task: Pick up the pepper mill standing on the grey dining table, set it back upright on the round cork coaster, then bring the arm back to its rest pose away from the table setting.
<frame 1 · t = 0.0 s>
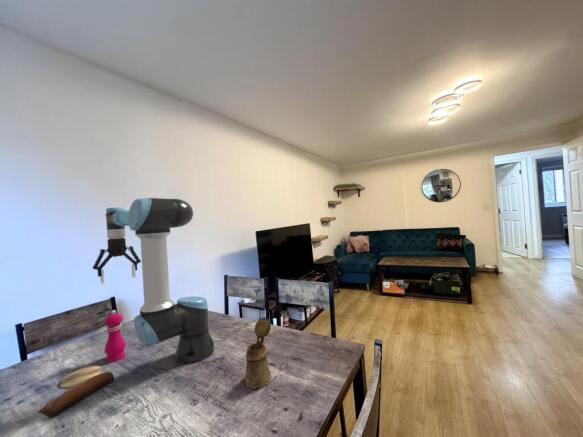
hand: (118, 279, 128), 28 cm above the table, fingers open, 13 cm apart
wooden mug: (260, 376, 88), on the table
pepper mill: (116, 358, 105), on the table
coaster: (81, 377, 93), on the table
sunglasses case: (78, 397, 83), on the table
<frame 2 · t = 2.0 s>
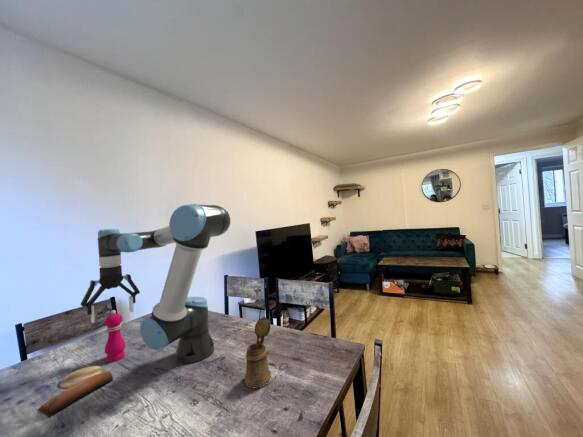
hand: (113, 316, 105), 17 cm above the table, fingers open, 13 cm apart
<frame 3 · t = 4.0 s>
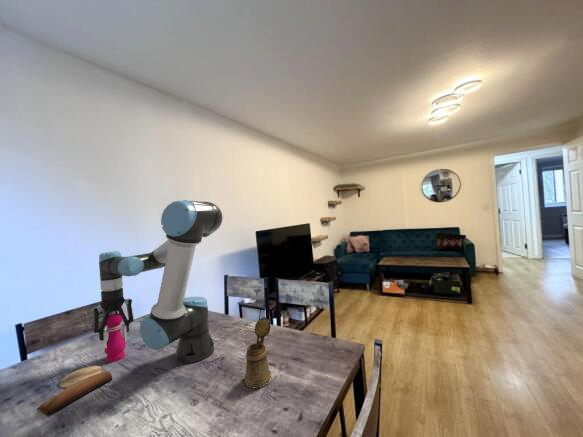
hand: (115, 343, 105), 6 cm above the table, fingers closed on pepper mill, 6 cm apart
pepper mill: (116, 358, 105), on the table, touching gripper
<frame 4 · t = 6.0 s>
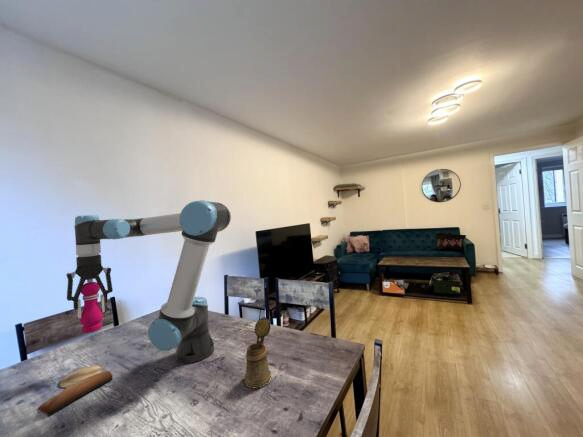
hand: (91, 314, 98), 21 cm above the table, fingers closed on pepper mill, 6 cm apart
pepper mill: (92, 329, 98), point 15 cm above the table, touching gripper
sunglasses case: (77, 395, 84), on the table, touching coaster
everything else where it was.
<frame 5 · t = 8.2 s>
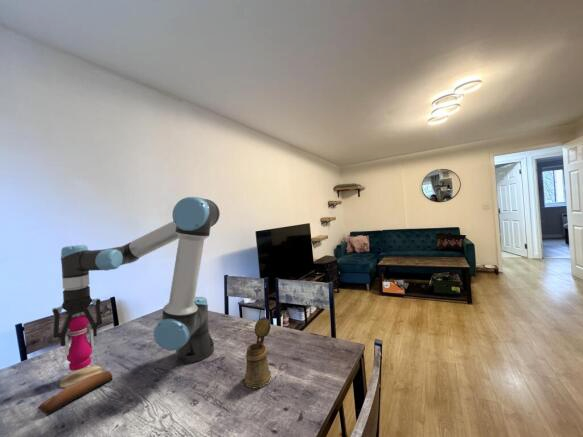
hand: (79, 349, 93), 10 cm above the table, fingers closed on pepper mill, 6 cm apart
pepper mill: (80, 366, 93), point 4 cm above the table, touching gripper
sunglasses case: (76, 395, 84), on the table
everything else where it was.
when the fingers open (7 cm above the table, at t = 9.6 s): pepper mill stays where it is, resting on coaster.
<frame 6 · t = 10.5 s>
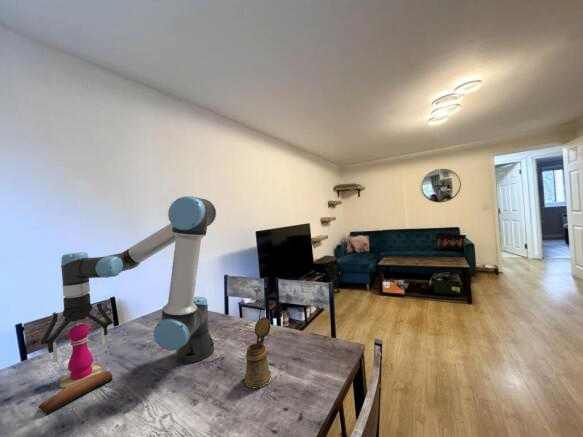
hand: (80, 352, 93), 9 cm above the table, fingers open, 13 cm apart
pepper mill: (81, 375, 93), point 1 cm above the table, touching coaster
everything else where it was.
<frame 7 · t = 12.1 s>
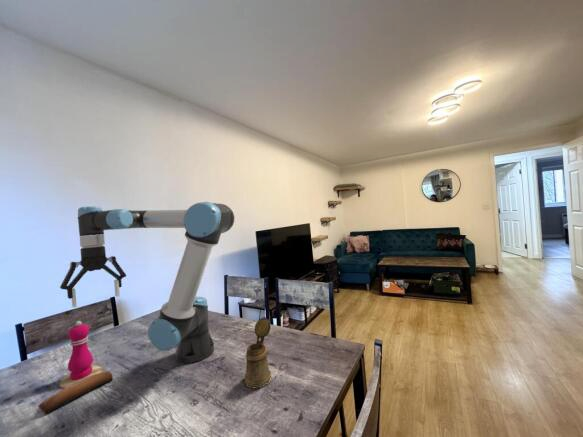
hand: (97, 301, 98), 26 cm above the table, fingers open, 13 cm apart
nothing on the table moved.
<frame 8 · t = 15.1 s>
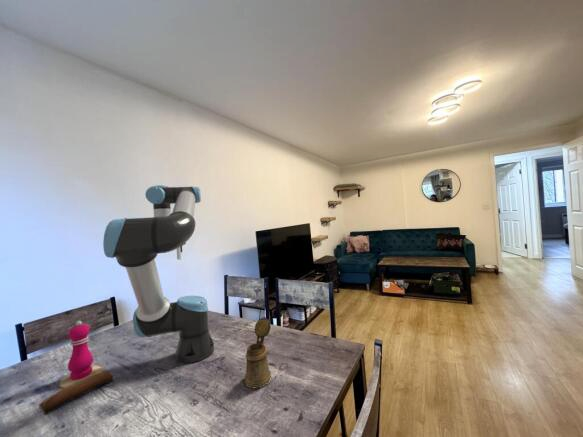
hand: (165, 261, 122), 37 cm above the table, fingers open, 13 cm apart
nothing on the table moved.
at the end: pepper mill 0.0 cm from the coaster (horizontally); pepper mill tilted 0°; the gripper is holding nothing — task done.
